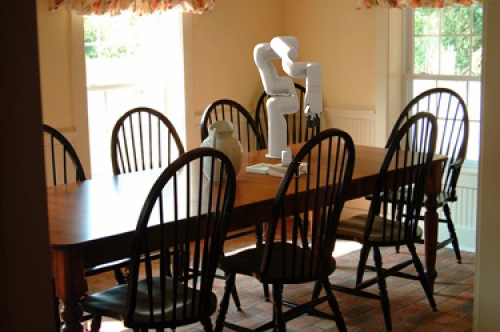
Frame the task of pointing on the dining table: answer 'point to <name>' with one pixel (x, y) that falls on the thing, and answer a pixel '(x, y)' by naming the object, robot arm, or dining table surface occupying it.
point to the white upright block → (286, 158)
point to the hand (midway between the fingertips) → (313, 126)
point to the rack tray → (259, 168)
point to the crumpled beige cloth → (280, 171)
